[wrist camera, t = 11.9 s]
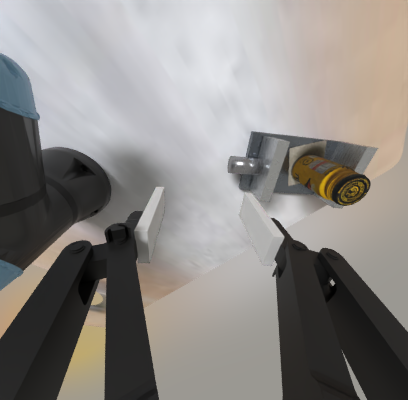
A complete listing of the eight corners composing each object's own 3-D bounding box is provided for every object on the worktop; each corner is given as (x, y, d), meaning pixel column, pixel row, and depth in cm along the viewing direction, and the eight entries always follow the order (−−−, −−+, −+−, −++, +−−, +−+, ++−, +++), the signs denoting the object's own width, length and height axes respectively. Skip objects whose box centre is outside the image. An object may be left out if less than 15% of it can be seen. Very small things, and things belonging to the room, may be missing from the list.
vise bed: (238, 187, 37) (248, 202, 31) (251, 131, 31) (266, 135, 25) (317, 193, 39) (342, 208, 33) (342, 141, 33) (378, 148, 27)
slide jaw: (223, 186, 35) (228, 199, 30) (232, 132, 30) (241, 136, 24) (258, 189, 36) (269, 202, 30) (273, 137, 31) (290, 141, 25)
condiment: (287, 185, 36) (327, 215, 26) (289, 148, 32) (336, 164, 22) (320, 178, 36) (373, 205, 25) (325, 139, 32) (391, 152, 21)
